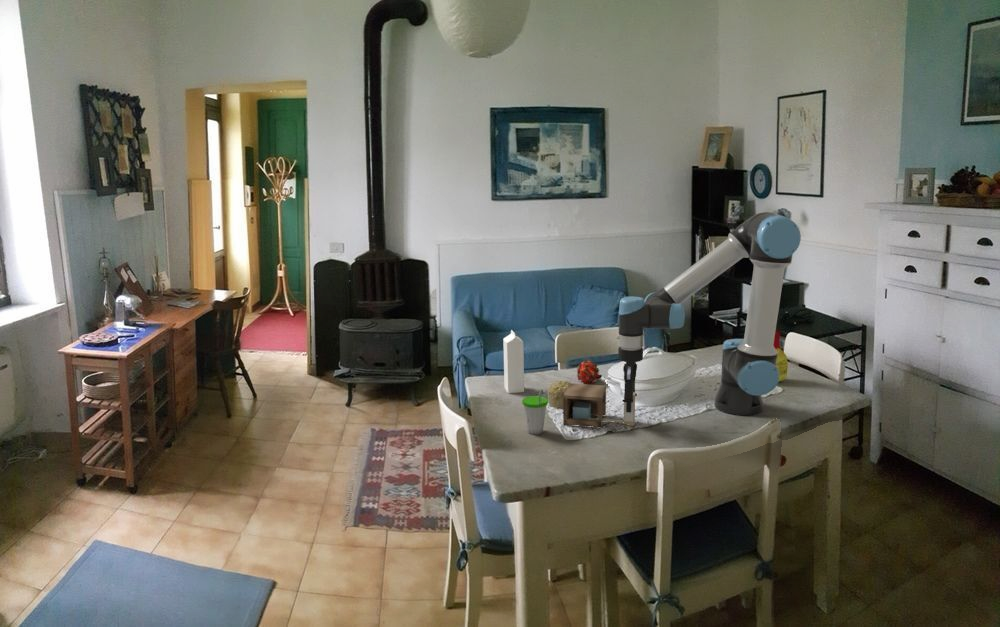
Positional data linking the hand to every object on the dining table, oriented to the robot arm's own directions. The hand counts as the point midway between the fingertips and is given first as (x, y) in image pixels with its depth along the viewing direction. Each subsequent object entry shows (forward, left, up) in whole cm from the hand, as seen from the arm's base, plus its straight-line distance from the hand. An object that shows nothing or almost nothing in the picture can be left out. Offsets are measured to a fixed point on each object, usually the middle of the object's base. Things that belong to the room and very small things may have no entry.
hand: (629, 418), depth 219 cm
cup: (+27, +13, -2) cm, 30 cm away
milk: (+43, -23, -2) cm, 49 cm away
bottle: (-47, -50, -2) cm, 69 cm away
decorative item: (+24, -13, -2) cm, 27 cm away
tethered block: (+8, 0, -2) cm, 8 cm away
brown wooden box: (+14, 0, -2) cm, 14 cm away
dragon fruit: (+18, -37, -2) cm, 41 cm away
